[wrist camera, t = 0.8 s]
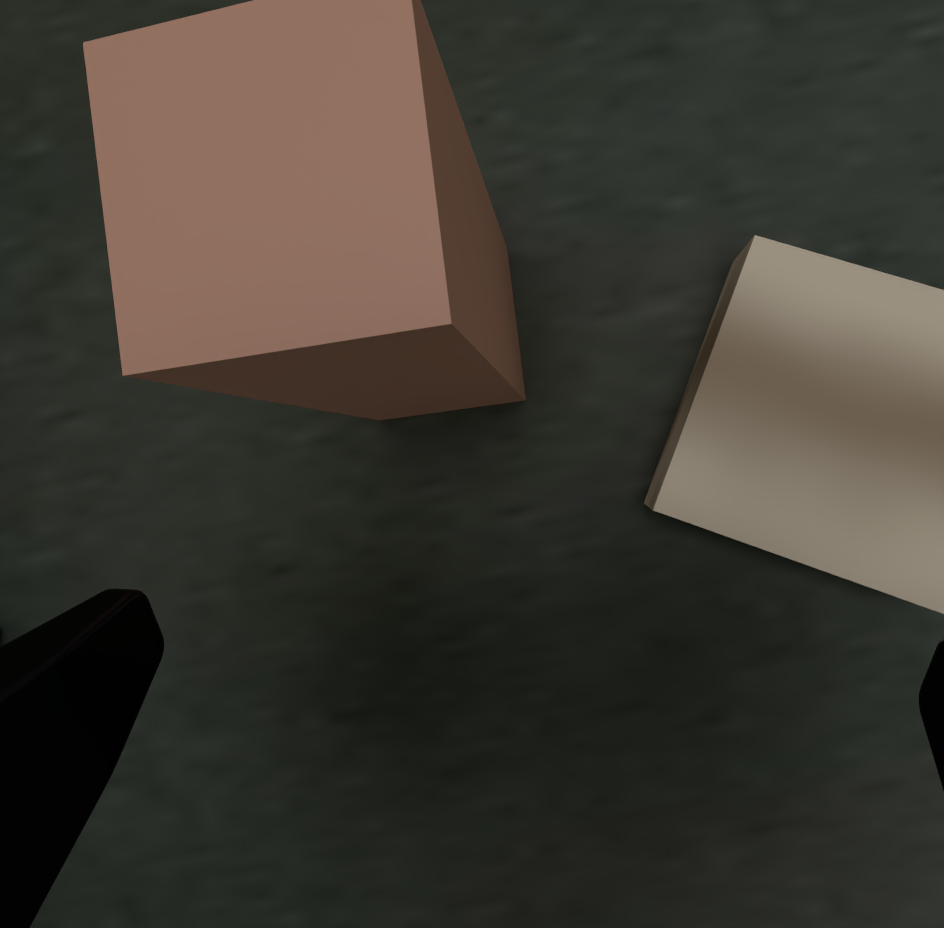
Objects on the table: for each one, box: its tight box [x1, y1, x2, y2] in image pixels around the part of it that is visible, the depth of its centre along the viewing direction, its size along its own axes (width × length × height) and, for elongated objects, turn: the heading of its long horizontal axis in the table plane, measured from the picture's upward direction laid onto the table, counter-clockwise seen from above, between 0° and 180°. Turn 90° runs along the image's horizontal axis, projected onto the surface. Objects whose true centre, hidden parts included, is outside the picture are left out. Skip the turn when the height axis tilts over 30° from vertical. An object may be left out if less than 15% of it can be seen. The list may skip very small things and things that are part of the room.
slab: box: [644, 235, 944, 614], centre depth 20 cm, size 8×8×3 cm
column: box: [83, 0, 526, 420], centre depth 16 cm, size 5×5×13 cm
